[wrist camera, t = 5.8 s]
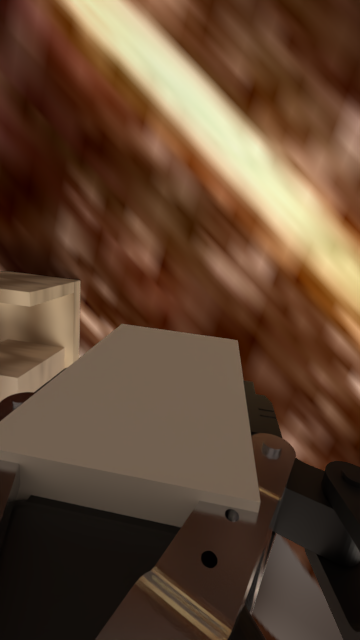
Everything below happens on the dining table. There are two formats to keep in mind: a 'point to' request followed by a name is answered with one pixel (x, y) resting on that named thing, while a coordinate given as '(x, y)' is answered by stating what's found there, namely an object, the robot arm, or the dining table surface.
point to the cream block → (139, 428)
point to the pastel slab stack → (36, 329)
